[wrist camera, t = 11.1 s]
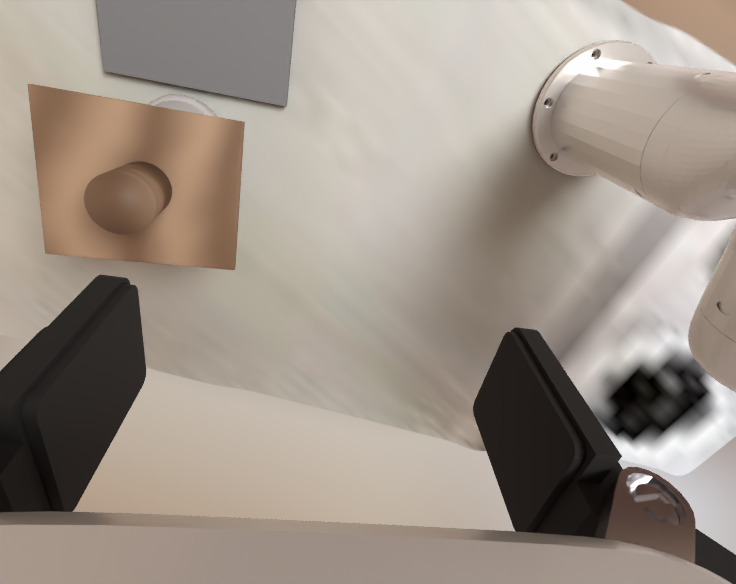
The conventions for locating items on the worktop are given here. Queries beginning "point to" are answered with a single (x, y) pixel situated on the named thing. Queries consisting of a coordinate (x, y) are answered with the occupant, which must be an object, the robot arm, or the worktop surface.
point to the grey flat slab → (202, 44)
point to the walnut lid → (136, 180)
